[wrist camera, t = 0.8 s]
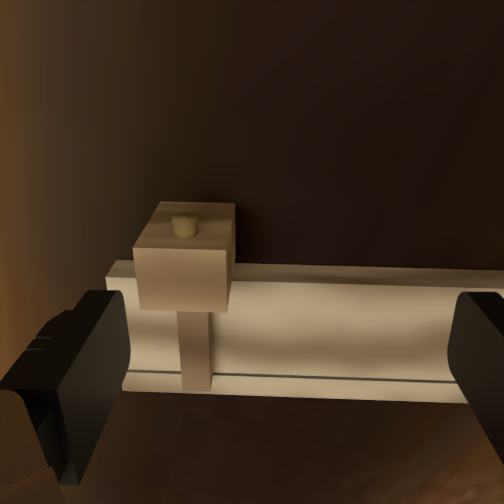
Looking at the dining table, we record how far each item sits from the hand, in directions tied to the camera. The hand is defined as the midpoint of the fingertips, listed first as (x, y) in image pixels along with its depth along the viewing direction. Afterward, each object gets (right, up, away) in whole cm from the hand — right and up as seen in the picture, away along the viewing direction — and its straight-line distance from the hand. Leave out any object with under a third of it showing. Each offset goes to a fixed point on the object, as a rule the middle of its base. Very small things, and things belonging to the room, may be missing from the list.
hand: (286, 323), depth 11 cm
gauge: (-4, 0, +22) cm, 23 cm away
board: (+3, -4, +24) cm, 24 cm away
